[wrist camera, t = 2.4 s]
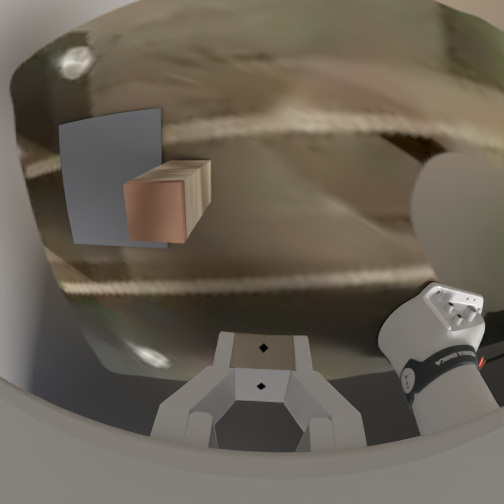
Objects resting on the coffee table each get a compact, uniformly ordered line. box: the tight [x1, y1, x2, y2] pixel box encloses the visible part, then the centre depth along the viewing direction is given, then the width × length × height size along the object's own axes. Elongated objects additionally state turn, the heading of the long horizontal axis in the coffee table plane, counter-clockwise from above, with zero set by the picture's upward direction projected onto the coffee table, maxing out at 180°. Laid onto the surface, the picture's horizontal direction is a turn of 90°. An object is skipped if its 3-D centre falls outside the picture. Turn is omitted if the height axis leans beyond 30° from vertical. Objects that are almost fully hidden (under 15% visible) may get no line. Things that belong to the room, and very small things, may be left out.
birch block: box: [123, 160, 211, 243], centre depth 27 cm, size 5×5×12 cm
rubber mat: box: [59, 108, 168, 249], centre depth 32 cm, size 16×18×1 cm
